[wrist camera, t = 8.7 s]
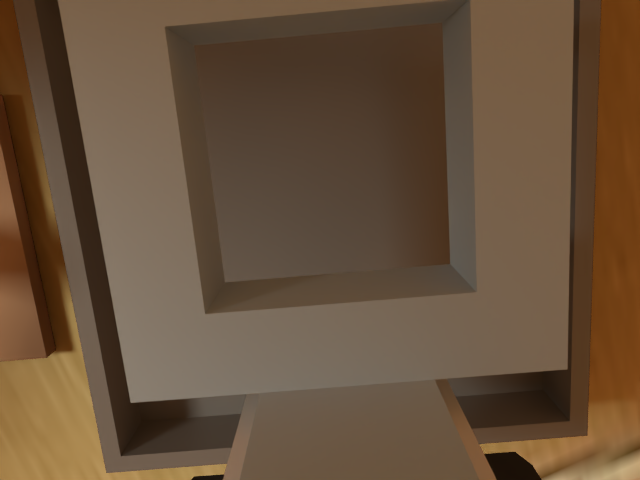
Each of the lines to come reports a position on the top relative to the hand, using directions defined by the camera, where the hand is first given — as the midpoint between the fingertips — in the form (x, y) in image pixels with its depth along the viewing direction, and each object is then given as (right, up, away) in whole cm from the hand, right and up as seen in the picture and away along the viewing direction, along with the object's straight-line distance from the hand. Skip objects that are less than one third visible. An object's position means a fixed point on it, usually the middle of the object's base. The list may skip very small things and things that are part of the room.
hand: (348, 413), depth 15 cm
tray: (-1, +7, +6) cm, 9 cm away
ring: (0, +5, -2) cm, 5 cm away
